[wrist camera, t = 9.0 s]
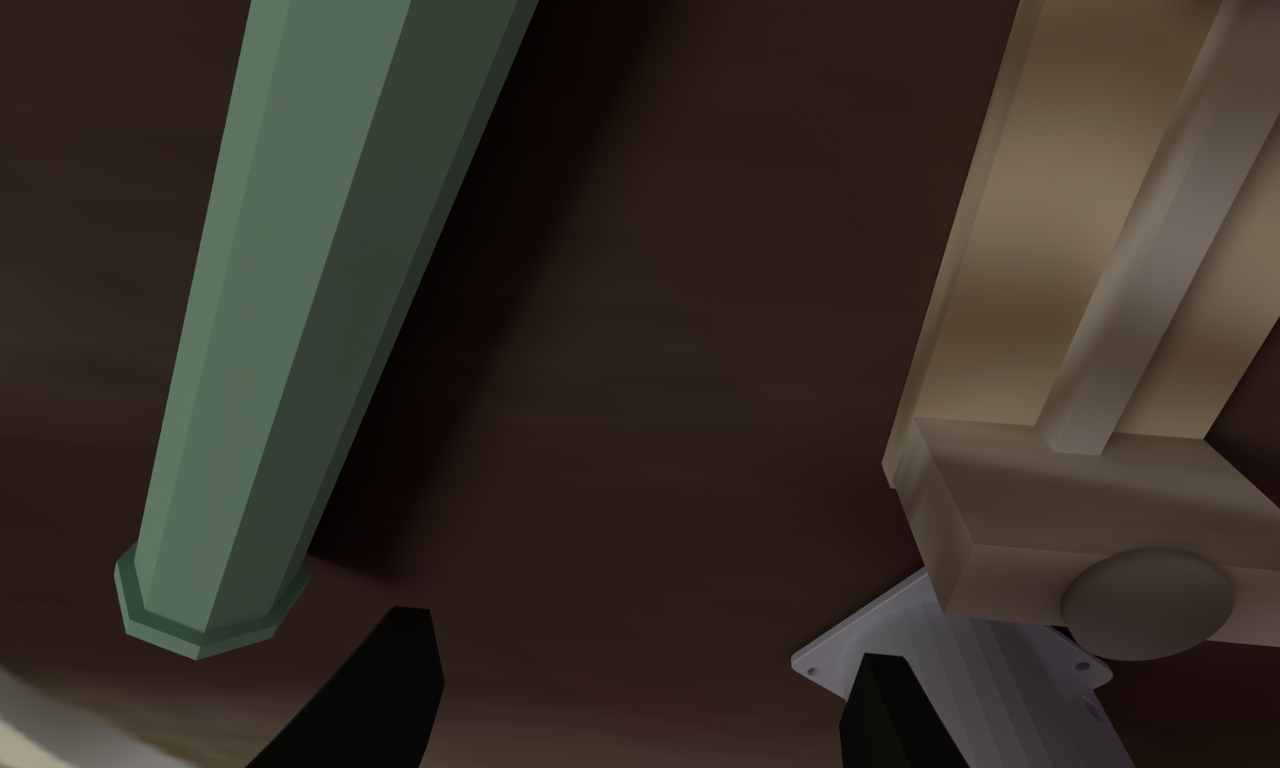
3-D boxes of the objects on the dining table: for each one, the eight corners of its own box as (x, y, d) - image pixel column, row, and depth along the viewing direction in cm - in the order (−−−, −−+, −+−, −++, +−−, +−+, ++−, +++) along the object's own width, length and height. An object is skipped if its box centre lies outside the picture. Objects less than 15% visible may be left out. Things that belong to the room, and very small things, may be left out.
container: (260, -416, 8) (82, 658, 20) (657, -110, 11) (294, 661, 23) (312, -340, 12) (140, 506, 24) (588, -136, 15) (313, 526, 27)
